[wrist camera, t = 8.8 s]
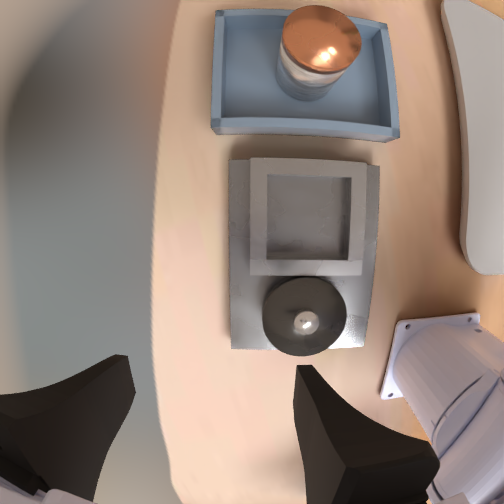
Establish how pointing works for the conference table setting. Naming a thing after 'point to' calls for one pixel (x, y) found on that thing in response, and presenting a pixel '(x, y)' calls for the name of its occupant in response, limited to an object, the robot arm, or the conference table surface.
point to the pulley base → (301, 253)
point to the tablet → (479, 129)
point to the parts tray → (286, 108)
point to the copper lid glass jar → (315, 51)
